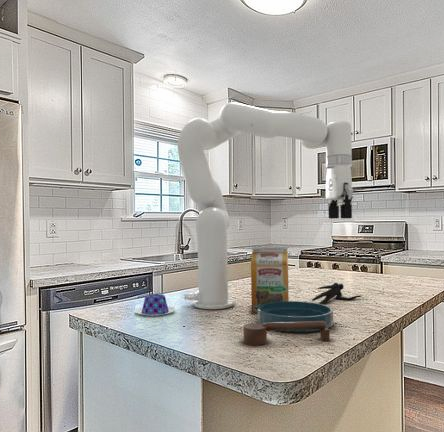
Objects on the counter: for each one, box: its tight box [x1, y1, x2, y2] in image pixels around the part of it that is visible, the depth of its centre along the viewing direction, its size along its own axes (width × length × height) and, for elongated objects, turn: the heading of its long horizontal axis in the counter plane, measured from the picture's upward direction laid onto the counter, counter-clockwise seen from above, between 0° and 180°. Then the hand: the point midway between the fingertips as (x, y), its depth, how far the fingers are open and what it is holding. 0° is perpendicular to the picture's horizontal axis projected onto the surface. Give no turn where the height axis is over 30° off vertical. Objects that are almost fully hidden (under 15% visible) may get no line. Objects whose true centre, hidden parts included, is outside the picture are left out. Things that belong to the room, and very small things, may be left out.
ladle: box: [242, 321, 331, 346], centre depth 93 cm, size 19×5×4 cm, turn 93°
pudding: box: [134, 293, 176, 317], centre depth 124 cm, size 12×12×5 cm
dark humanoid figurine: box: [311, 282, 365, 305], centre depth 135 cm, size 8×9×25 cm
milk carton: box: [250, 246, 290, 314], centre depth 126 cm, size 10×11×19 cm
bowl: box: [257, 300, 334, 334], centre depth 109 cm, size 19×19×4 cm
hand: (339, 218), depth 127 cm, fingers open, 9 cm apart
